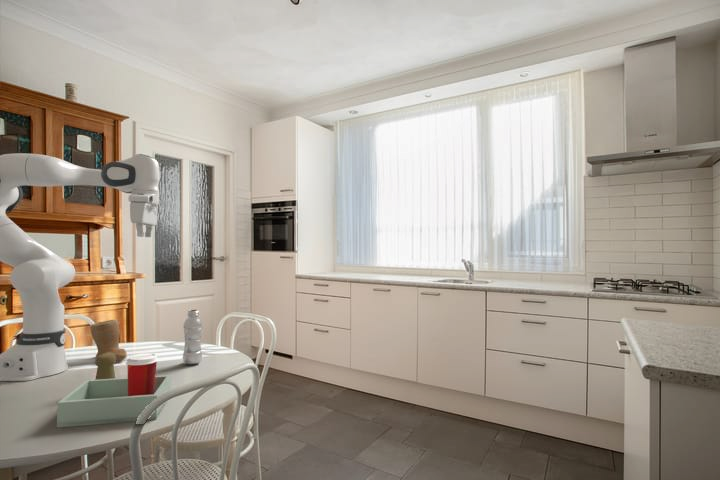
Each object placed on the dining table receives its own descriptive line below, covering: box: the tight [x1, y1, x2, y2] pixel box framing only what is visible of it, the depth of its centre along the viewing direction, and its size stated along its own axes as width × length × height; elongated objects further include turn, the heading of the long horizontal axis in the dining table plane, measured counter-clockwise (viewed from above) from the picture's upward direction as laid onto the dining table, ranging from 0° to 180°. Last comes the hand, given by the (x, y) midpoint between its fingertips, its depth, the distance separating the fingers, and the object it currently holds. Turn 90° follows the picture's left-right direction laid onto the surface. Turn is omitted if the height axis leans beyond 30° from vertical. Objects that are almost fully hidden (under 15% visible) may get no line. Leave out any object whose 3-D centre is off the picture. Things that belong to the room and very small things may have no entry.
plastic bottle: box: [182, 309, 203, 365], centre depth 144 cm, size 6×7×20 cm
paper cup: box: [125, 353, 159, 396], centre depth 105 cm, size 8×8×14 cm
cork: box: [94, 354, 116, 380], centre depth 117 cm, size 6×6×11 cm
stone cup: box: [90, 319, 128, 363], centre depth 148 cm, size 15×12×15 cm
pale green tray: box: [56, 374, 172, 428], centre depth 104 cm, size 22×16×6 cm
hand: (144, 237), depth 140 cm, fingers open, 8 cm apart
